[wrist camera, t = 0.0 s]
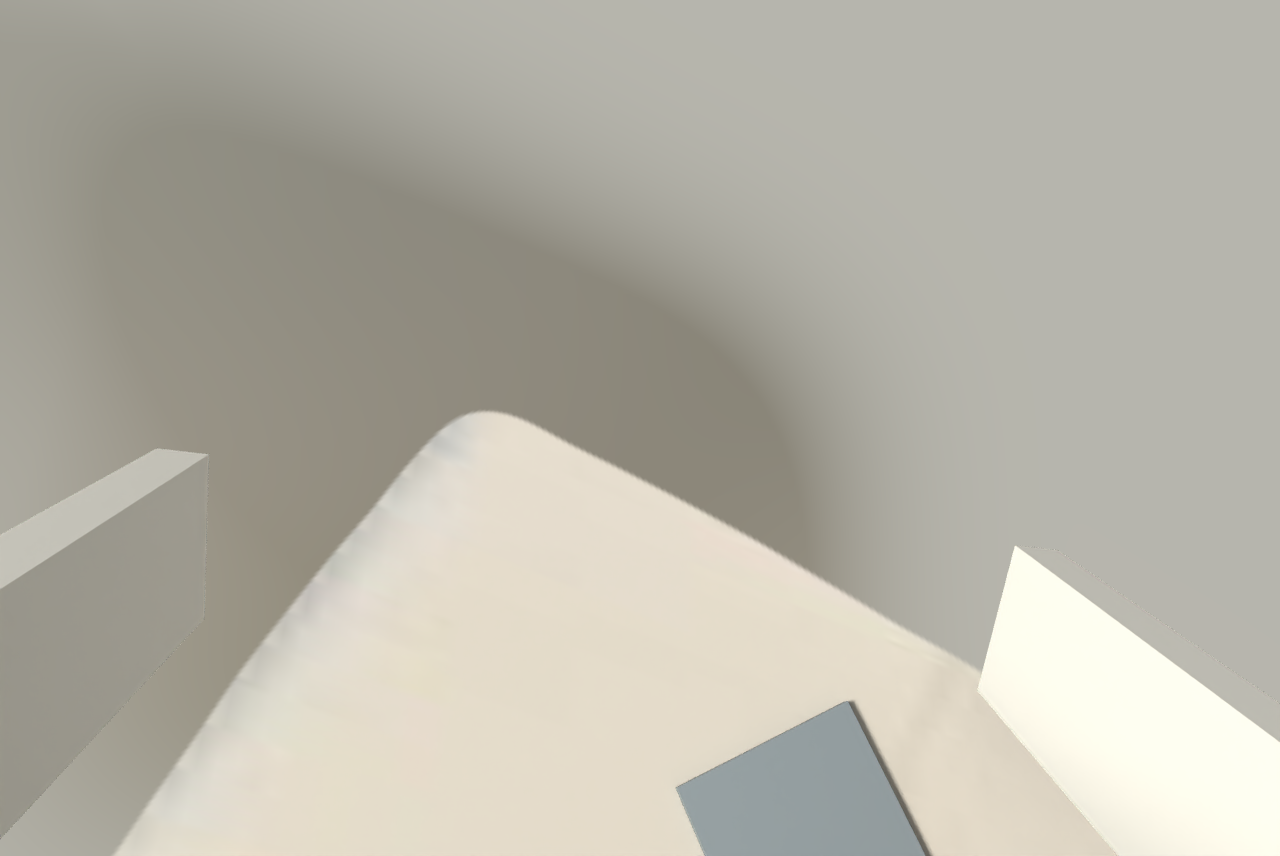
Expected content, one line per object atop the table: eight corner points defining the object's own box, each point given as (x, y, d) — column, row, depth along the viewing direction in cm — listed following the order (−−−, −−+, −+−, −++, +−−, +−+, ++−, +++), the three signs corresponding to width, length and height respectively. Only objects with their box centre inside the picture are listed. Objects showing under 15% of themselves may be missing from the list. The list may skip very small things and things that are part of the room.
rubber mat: (941, 895, 46) (946, 897, 46) (767, 1001, 43) (770, 1004, 43) (844, 701, 49) (847, 701, 49) (675, 787, 46) (677, 787, 46)
